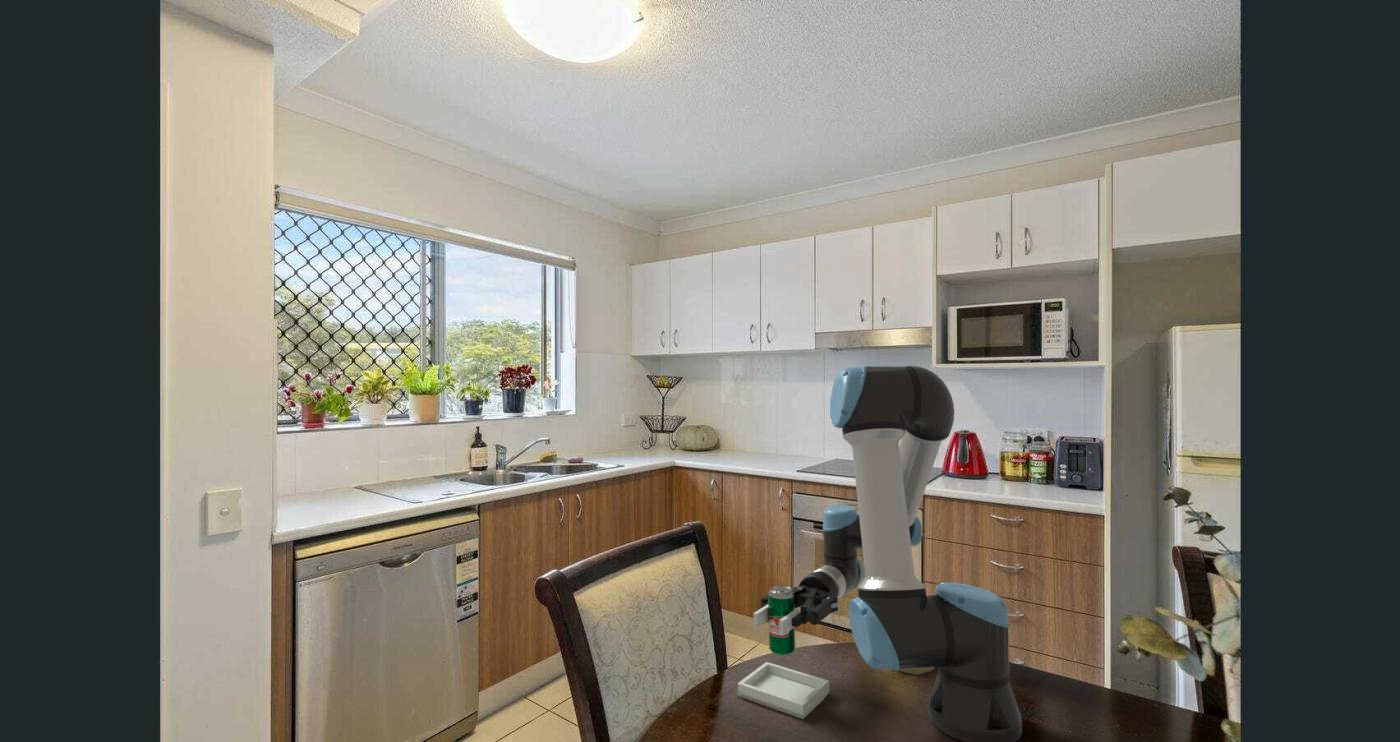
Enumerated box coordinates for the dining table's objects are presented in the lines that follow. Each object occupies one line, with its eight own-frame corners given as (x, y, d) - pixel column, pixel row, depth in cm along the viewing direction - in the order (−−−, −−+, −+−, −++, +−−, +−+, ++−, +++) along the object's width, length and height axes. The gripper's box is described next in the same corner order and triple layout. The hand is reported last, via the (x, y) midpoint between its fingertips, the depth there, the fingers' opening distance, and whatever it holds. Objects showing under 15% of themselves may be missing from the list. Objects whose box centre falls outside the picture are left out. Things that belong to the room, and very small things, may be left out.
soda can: (765, 653, 118) (764, 591, 118) (774, 643, 123) (773, 583, 123) (790, 659, 116) (788, 595, 116) (798, 648, 120) (797, 587, 120)
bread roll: (882, 662, 132) (881, 644, 132) (916, 655, 135) (915, 637, 135) (908, 679, 124) (907, 659, 125) (943, 671, 128) (942, 652, 128)
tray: (829, 693, 119) (829, 680, 119) (803, 719, 110) (802, 705, 110) (766, 673, 127) (766, 661, 127) (737, 696, 118) (737, 683, 119)
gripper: (861, 614, 128) (811, 657, 110) (785, 596, 139) (728, 632, 120) (861, 578, 128) (811, 615, 110) (785, 563, 139) (727, 594, 120)
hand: (768, 624), depth 115 cm, fingers closed on soda can, 5 cm apart
